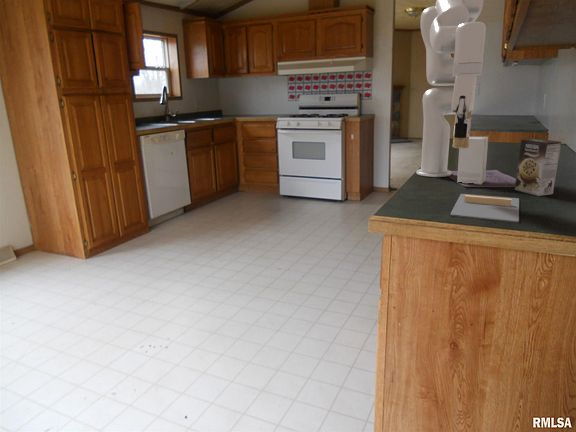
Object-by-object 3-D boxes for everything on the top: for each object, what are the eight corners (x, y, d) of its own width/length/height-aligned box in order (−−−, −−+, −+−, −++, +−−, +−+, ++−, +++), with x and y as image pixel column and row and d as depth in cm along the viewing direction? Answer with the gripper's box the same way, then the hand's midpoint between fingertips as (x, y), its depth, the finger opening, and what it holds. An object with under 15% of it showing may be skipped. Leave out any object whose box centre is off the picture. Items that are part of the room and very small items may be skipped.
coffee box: (513, 190, 139) (520, 139, 134) (528, 187, 141) (535, 137, 136) (538, 196, 130) (546, 142, 126) (554, 194, 132) (562, 140, 128)
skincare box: (485, 181, 151) (490, 136, 147) (481, 185, 146) (486, 138, 141) (460, 179, 156) (464, 135, 151) (455, 182, 150) (459, 137, 146)
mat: (460, 194, 134) (461, 188, 134) (518, 199, 127) (519, 192, 126) (450, 215, 114) (450, 207, 113) (518, 222, 107) (519, 214, 106)
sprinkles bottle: (456, 146, 130) (460, 99, 126) (471, 147, 127) (475, 99, 123) (449, 148, 127) (453, 100, 123) (464, 149, 124) (469, 100, 120)
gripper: (457, 71, 130) (452, 133, 135) (447, 70, 116) (442, 139, 121) (484, 70, 126) (478, 134, 131) (478, 69, 112) (471, 140, 117)
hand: (461, 136), depth 126 cm, fingers closed on sprinkles bottle, 4 cm apart
